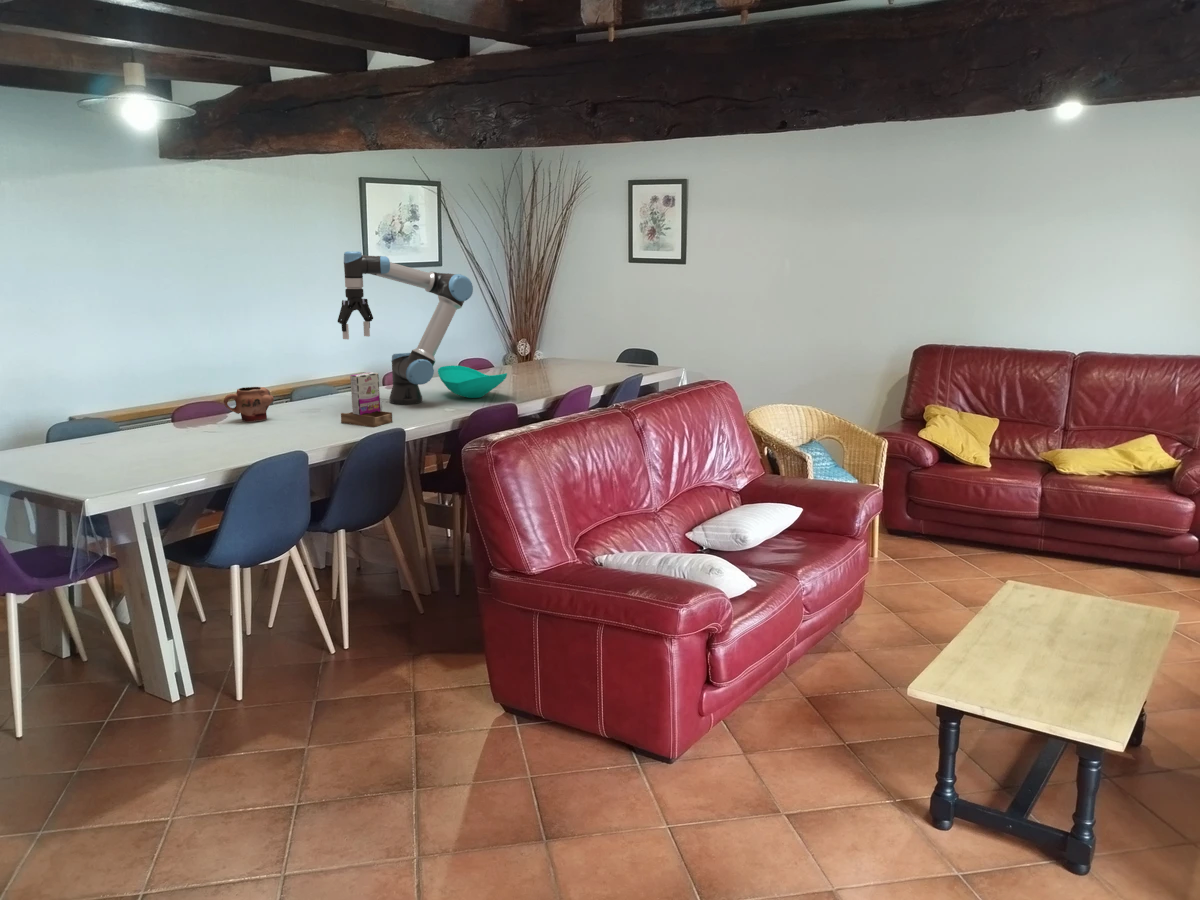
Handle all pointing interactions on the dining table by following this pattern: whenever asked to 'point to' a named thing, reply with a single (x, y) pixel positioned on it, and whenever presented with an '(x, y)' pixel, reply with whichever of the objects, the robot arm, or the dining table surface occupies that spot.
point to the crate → (367, 418)
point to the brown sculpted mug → (251, 403)
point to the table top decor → (468, 381)
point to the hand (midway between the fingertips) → (356, 337)
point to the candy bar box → (365, 393)
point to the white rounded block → (380, 404)
